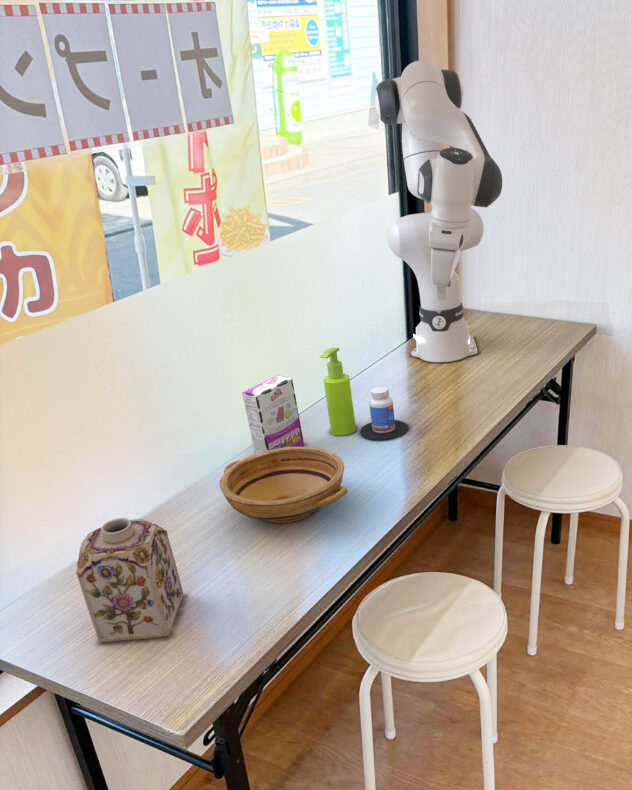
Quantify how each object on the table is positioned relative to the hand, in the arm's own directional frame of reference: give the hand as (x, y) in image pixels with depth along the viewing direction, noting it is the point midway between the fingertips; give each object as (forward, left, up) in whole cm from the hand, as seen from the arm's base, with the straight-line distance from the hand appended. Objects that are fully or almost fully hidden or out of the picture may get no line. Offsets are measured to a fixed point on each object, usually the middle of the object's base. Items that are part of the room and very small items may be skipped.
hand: (444, 292), depth 191 cm
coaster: (+11, -15, -29) cm, 34 cm away
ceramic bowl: (+48, -27, -29) cm, 62 cm away
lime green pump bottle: (+11, -25, -29) cm, 40 cm away
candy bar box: (+22, -37, -29) cm, 52 cm away
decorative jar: (+84, -42, -29) cm, 98 cm away
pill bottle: (+11, -15, -29) cm, 34 cm away
